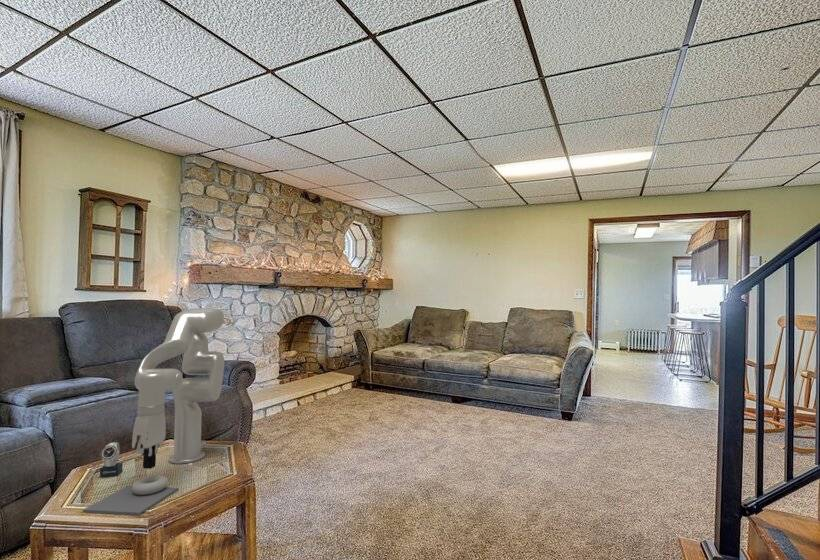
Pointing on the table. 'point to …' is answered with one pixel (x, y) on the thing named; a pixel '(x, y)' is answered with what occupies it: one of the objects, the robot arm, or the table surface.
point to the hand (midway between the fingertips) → (149, 467)
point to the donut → (149, 484)
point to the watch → (111, 461)
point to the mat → (129, 502)
